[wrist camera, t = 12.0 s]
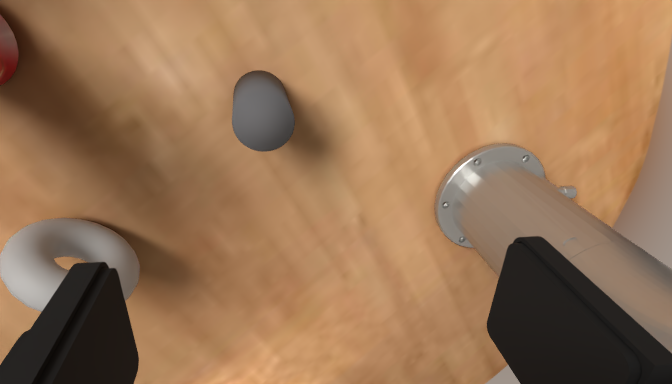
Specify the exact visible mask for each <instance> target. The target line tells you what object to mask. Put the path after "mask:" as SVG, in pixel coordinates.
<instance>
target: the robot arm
mask: <svg viewBox="0 0 672 384" xmlns="http://www.w3.org/2000/svg"><path fill="white" fill-rule="evenodd" d="M576 193H577V191H576V188H575V187H574V186H561V187H557V186H555V185H554V184H552V183H551V182H550V181H548V180H547V179H545V172H544V169H543V166H542V164H541V163H540V161H539V159H538V158H537V157H536V156H535V155H533V154H532V153H531V152H529V151H528V150H526V149H525V148H523V147H520V146H517V145H514V144H507V143H502V144H493V145H489V146H485V147H482V148H480V149H478V150H475V151H473V152H472V153H470V154H469V155H467V156H465V157H464V158H463V159H461V160H460V161H459V162H458V163H457V164H456V165H455V166H454V167H453V168H452V169H451V170H450V171H449V173H448V174H447V175H446V177H445V178H444V180H443V181H442V183H441V185H440V187H439V190H438V192H437V195H436V200H435V217H436V221H437V223H438V225H439V227H440V229H441V230H442V232H443V233H444V234H445V236H446V237H447V238H449V239H450V240H451V241H452V242H454V243H456V244H458V245H460V246H464V247H469V248H475V249H476V251H477V252H478V253H479V254H480V255H481V256H482V258H483V259H484V260H485V261H486V262H487V264H488V265H489V266H490V267H491V268H492V270H493V271H494V272H495V273H496V274H497V276H498V277H499V280H498V284H497V288H496V291H495V295H494V298H493V302H492V306H491V309H490V313H489V317H488V320H487V330H488V333H489V335H490V337H491V339H492V340H493V342H494V343H495V345H496V347H497V348H498V350H499V351H500V353H501V354H502V356H503V357H504V359H505V360H506V362H507V363H508V365H509V367H510V368H511V370H512V371H513V373H514V374H515V376H516V377H517V379H518V380H519V382H520V383H521V384H672V269H671V268H670V267H668V266H666V265H665V264H663V263H662V262H660V261H659V260H657V259H656V258H655V257H653V256H652V255H650V254H648V253H647V252H646V251H645V250H643V249H642V248H640V247H638V246H637V245H635V244H634V243H632V242H631V241H630V240H628V239H627V238H625V237H624V236H622V235H621V234H619V233H618V232H617V231H615V230H614V229H612V228H611V227H610V226H608V225H607V224H605V223H604V222H602V221H601V220H600V219H598V218H597V217H595V216H594V215H592V214H591V213H589V212H588V211H587V210H585V209H584V208H582V207H581V206H579V205H578V204H577V203H575V202H574V201H572V200H571V198H575V196H576ZM138 363H139V358H138V352H137V348H136V344H135V340H134V336H133V332H132V328H131V323H130V319H129V315H128V311H127V307H126V303H125V299H124V295H123V291H122V287H121V283H120V279H119V275H118V272H117V270H116V268H109V266H108V265H107V263H106V262H92V263H77V264H74V265H73V266H72V267H71V269H70V270H69V272H68V273H67V275H66V276H65V278H64V279H63V281H62V282H61V284H60V285H59V287H58V288H57V290H56V291H55V293H54V294H53V296H52V297H51V299H50V300H49V302H48V303H47V305H46V306H45V308H44V309H43V311H42V312H41V314H40V315H39V317H38V318H37V320H36V321H35V323H34V324H33V326H32V327H31V329H30V330H28V331H26V332H24V333H23V334H22V335H21V336H20V338H19V339H18V340H17V341H16V343H15V344H14V346H13V347H12V349H11V350H10V352H9V353H8V355H7V356H6V357H5V359H4V360H3V362H2V363H1V365H0V384H134V381H135V377H136V374H137V371H138Z"/></svg>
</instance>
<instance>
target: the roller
mask: <svg viewBox="0 0 672 384" xmlns="http://www.w3.org/2000/svg"><path fill="white" fill-rule="evenodd" d="M232 125H233V130H234V133H235V135H236V136H237V138H238V139H239V140H240V142H241V143H243V144H244V145H245V146H247V147H248V148H250V149H253V150H256V151H271V150H275V149H277V148H279V147H281V146H282V145H284V144H285V143H286V142H287V141H288V140H289V138H290V137H291V135H292V133H293V130H294V125H295V120H294V114H293V111H292V109H291V106H290V103H289V100H288V98H287V95H286V92H285V90H284V87H283V85H282V83H281V82H280V80H279V79H278V78H277V77H276V76H274V75H273V74H271V73H269V72H266V71H252V72H249V73H247V74H245V75H243V76H242V77H241V78H240V79H239V80H238V82H237V84H236V86H235V89H234V96H233V115H232Z"/></svg>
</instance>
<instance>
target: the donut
mask: <svg viewBox="0 0 672 384" xmlns="http://www.w3.org/2000/svg"><path fill="white" fill-rule="evenodd" d="M63 256H67V257H75V258H80V259H82V260H84V261H87V262H89V263H92V262H106V263H107V265H108V266H109V268H116V270H117V272H118V275H119V279H120V283H121V287H122V291H123V295H124V299H125V300H127V299H128V298H129V296H130V295H131V294H132V292H133V290H134V289H135V287H136V285H137V284H138V281H139V272H140V264H139V261H138V258H137V256H136V253H135V251H134V250H133V249H132V247H131V246H130V245H129V244H128V242H127V241H126V240H125V239H124V238H122V237H121V236H120V235H118V234H117V233H116V232H114V231H113V230H111V229H109V228H107V227H104V226H102V225H100V224H98V223H94V222H90V221H86V220H83V219H74V218H56V219H47V220H41V221H39V222H36V223H33V224H30V225H27V226H25V227H24V228H22V229H21V230H20V231H18V232H17V233H16V234H14V235H13V236H12V237H11V238H9V240H8V241H7V243H6V245H5V247H4V249H3V251H2V253H1V255H0V276H1V278H2V280H3V282H4V283H5V285H6V286H7V288H8V290H9V291H10V293H11V294H12V295H13V296H14V297H16V298H17V299H18V300H20V301H21V302H22V303H24V304H25V305H26V306H28V307H30V308H33V309H35V310H38V311H40V312H42V311H43V309H44V308H45V306H46V305H47V303H48V302H49V300H50V299H51V297H52V296H53V294H54V293H55V291H56V290H57V288H58V287H59V285H60V284H61V282H62V281H63V279H64V278H65V276H66V275H67V273H68V272H69V270H67V269H64V268H62V267H61V266H59V265H58V264H57V263H56V262H55V260H54V258H57V257H63Z"/></svg>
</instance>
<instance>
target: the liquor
mask: <svg viewBox="0 0 672 384" xmlns="http://www.w3.org/2000/svg"><path fill="white" fill-rule="evenodd" d="M18 55H19V53H18V46H17V42H16V39H15V37H14V34H13V32H12V30H11V29H10V27H9V25H8V23H7V22H6V21H5V20H4V18H3V17H2V16H1V15H0V85H2V84H4V83H5V82H6V81H8V80H9V79H10V78H11V76H12V75H13V73H14V72H15V70H16V67H17V64H18Z"/></svg>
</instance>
